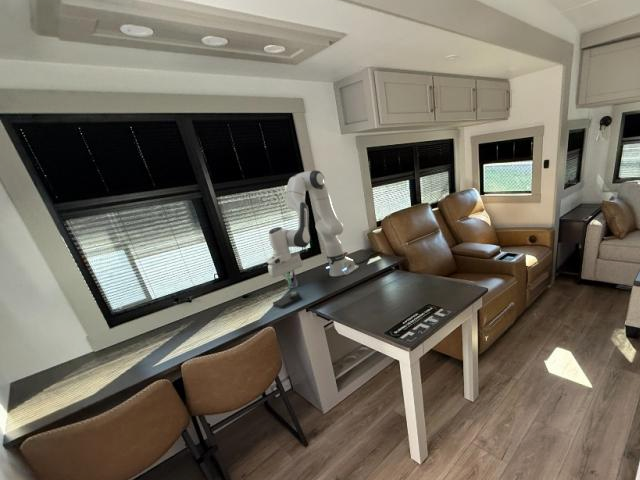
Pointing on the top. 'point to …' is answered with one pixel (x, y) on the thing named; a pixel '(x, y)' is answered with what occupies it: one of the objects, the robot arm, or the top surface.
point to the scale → (287, 301)
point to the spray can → (292, 280)
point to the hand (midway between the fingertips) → (289, 278)
